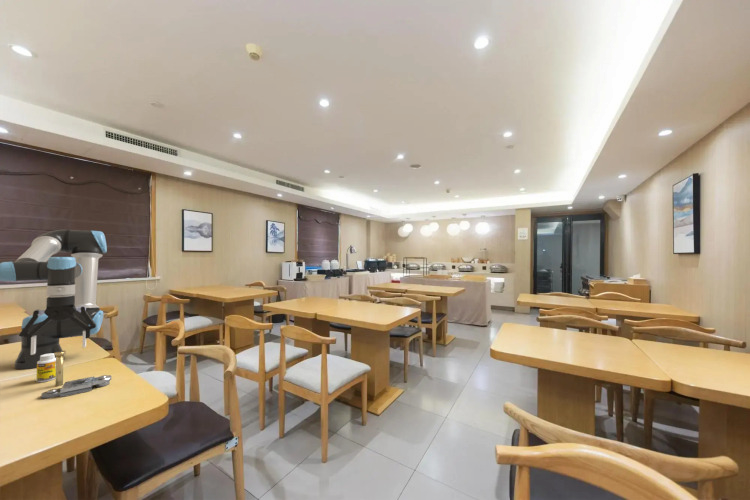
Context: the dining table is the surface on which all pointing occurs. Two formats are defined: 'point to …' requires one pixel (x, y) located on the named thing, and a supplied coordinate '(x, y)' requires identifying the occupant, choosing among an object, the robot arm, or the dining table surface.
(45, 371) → the supplement bottle
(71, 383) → the grey metal link plate
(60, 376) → the pin
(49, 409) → the dining table surface
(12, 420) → the dining table surface
